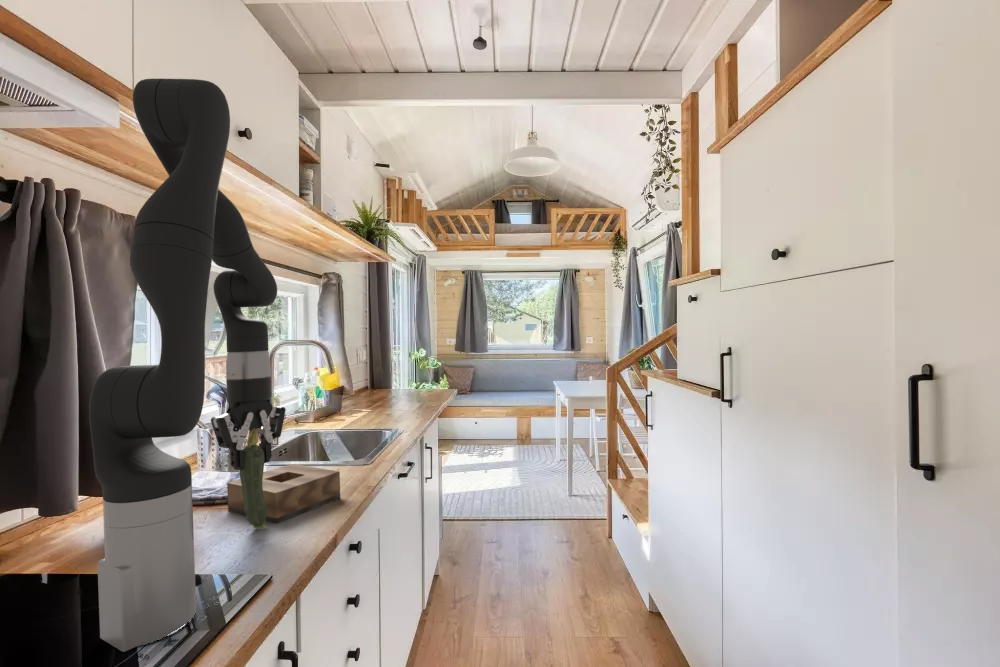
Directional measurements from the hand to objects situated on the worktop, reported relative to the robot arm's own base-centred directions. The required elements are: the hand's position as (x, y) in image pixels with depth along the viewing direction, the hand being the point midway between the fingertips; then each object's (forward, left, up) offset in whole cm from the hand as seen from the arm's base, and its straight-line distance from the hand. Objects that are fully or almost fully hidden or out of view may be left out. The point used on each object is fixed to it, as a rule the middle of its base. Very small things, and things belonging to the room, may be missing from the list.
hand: (252, 465), depth 93 cm
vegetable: (0, 0, -13) cm, 13 cm away
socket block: (+12, +7, -12) cm, 19 cm away
